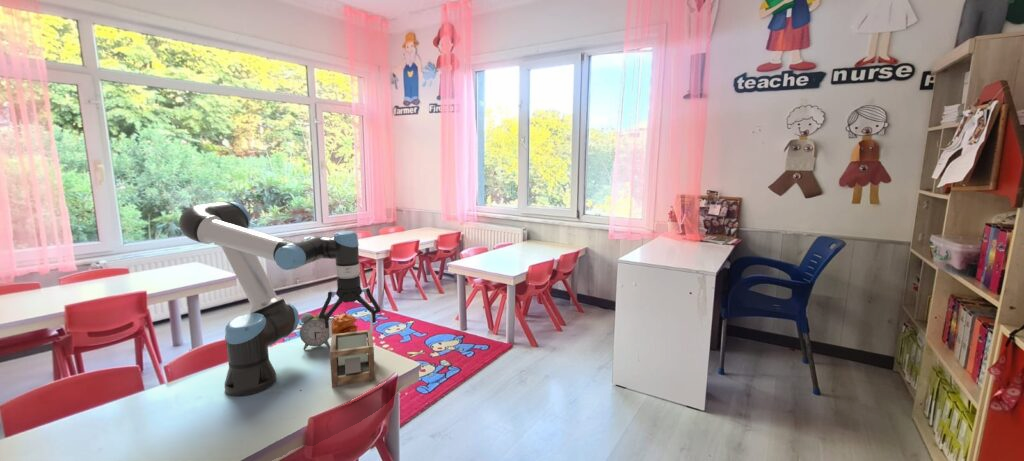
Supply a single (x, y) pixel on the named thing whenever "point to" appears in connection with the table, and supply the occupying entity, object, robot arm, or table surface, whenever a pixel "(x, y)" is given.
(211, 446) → the table surface
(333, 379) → the frame
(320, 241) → the robot arm
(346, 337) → the hatch
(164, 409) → the table surface
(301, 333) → the alarm clock
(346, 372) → the grey block
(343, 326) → the orange sculpture
